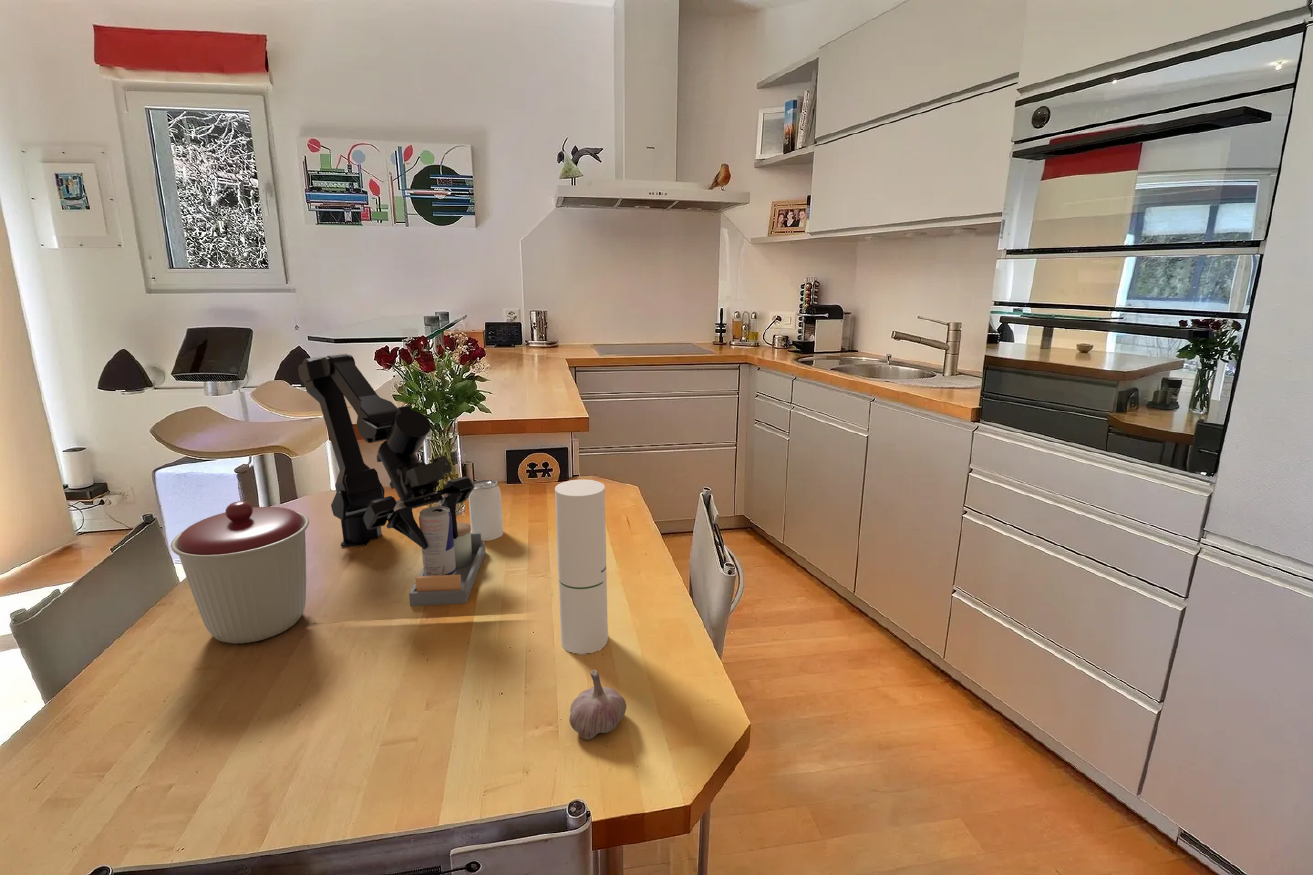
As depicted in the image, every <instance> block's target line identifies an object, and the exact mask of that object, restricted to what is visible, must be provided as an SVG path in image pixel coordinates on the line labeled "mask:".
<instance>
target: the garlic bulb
mask: <svg viewBox="0 0 1313 875" xmlns="http://www.w3.org/2000/svg"><path fill="white" fill-rule="evenodd" d="M590 676H591V679H592V684H593V686H591V687H590V688H589V689H585V690H583V691H581V692H580V693H579V695H578V696H577V697H576V698H575V699H573V701H572V703H571V704H570V708H569V709H570V710H569V713H570V714H569V719H568V720H569V724H570V726H571V728H572V729H573V731H575V732H577V734H578V735H579V737H580V738H581V739H583V740H586V741H587V740H592V739H594V738H595V737H596V736H597V735H598V734H607V733H609V732H612V731H613V730H614V729H616V728H617V726H618V724H619V722H620V721H621V720H622V719H623V718H624V716H625V715H626V711H627V702H626V700H625V698H624V697H623V696H622V695H621V694H620V693H619V692H618V691H617V690H616V689H614V688H612V687H608V686H602V684H601V679H600V674H599V672H598V671H597V669H592V670H591V672H590Z"/></svg>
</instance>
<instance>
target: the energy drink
mask: <svg viewBox="0 0 1313 875" xmlns="http://www.w3.org/2000/svg"><path fill="white" fill-rule="evenodd" d="M418 526H419V528H420V530H421V532H422V534H423V536H424V537H425V540H426V542H427V545H428V547H427V549H423V548H422V547H421V554H422V563H423V564H422V565H423V566H422V567H423V568H424V576H437V575H455V573H456V563H455V551H454V539H453V527H452V515H451V512H450V509H449V508H447V507H444V506H439V505H437V506H430V507H426V508H424V509H421V510H420V511H419V516H418Z"/></svg>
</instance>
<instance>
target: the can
mask: <svg viewBox="0 0 1313 875" xmlns="http://www.w3.org/2000/svg"><path fill="white" fill-rule="evenodd" d="M472 482H473V484H474V486H475V487H474V489H473V490H472V492H471V493H470V495H469V496H468V504H469V518H470V519H469V520H470V526H471V533H481V540H482V542H486V541H487V542H488V541H492V540H493V541H494V540H497V539H499V538H501V537H502V536H503V535H504V525H503V524H504V522H503V507H502V497H501V496H502V494H501V488H500V487H499V485H498V484H499V482H498V481H497V480H493V479H482V480H481V479H480V480H476V481H472Z"/></svg>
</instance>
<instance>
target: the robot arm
mask: <svg viewBox="0 0 1313 875" xmlns="http://www.w3.org/2000/svg"><path fill="white" fill-rule="evenodd" d="M297 371H298V376H299V380H300V381H301V382H302V383H303V384H304V388H305V390H306V392H307V394H308V395H310V396H311V397H312V398H313V399H314V400H315V401H316V402H318V403H319V406H320V409H321V412H322V417H323V420H324V423H325V426H326V429H327V432H328V433H327V434H328V436H329V439H330V443H331V445H332V450H333V454H334V456H335V459H336V464H337V466H338V470H339V472H338V475H337V478H336V480H335V481H336V482H335V484H334V488H335V491H336V493H335V495H334V497H333V500H332V502H331V504H330V508H331V511H332V514H333V516H334V517H335V518H337V519H339V520H340V523H341V525H340V526H341V530H342V537H343V540H342V542H340V547H361V546H362V547H363V546H368V544H369V543H370V541H374V540H378V539H379V538H380V537H381V536H382V533H383V532H382V527H385V526H386V528H387V529H394V530H395V531H397V532H398V533H401V534H402V535H404V536H406V537H407V538H408V539H410V541H413V543H415V544H416V545H418V546H419V547H420V548H421V549H422V548H423V549H427V547H428V545H427V542H426V540H425V537H424V536H423V534H422V532H421V530H420V526H419V524H418V523H417V521H416V519H415V517H414V512H413V509H417V508H420V507H424V506H427V505H431V504H435V503H437V504H438V506H444V507H447V508H449V509H450V512H451V515H452V527H453V538H454V539H457V537H458V530H457V522H458V521H457V505H459V504H463V503H465V502H466V501H467V499H469V495H470V493H471V492H472V490H473V489H474V487H475V486H474V484H473V482H474V481H473V480H472V479H471V478H470V477H468V476H460V477H457V478H453V479H450V480H448V481H447V483H446V484H445V486H444V487H443V489H439V490H435V488H438V486H439V481H441V480H445V479H446V476H445V475H447V474H450V473H452V464H451V462H450V461H449V459H448V457H447V456H446V455H440V456H437V457H435V458H433V459H432V462H430V463H425V462H424V461H420V459H419V457H418V456H417V454H416V453H417V452H419V450H420V449H421V447H422V446H423V443H424V442H425V440H426V438H427V437H428V435H429V433H430V430H431V427H432V426H431V422H430V419H429V418H428V417H426V416H425V415H424V414H423V413H421V412H419V411H416V410H413V409H412V408H411V406H410V405H404V406H399V407H397V406H396V405H395V404H394V403H393V402H392V401H391V400H388V399H385V398H382V397H380V396H379V395H378V394H377V392H376V390H375V389H374V388H373V387H372V385H371V384H370V383H369V381H368V380H367V379H366V377H365V376H364V375H363V373H362V372H361V370H360V369H359V368H358V366H357V365H356V361H355V358H354V356H353V355H352V354H348V353H339V354H330V355H327V356H320V357H310V358H305V359H303V361H302V363H301V364H299V365H298V369H297ZM346 401H347V402H348V404H350V406H351V408H352V409H353V410H354V411H355V413H356V415H357V417H356V418H357V419H356V427H357V431H358V434H359V436H360V437H361V438H362V439H363V440H364V441H365V442H366V443H368V444H370V443H371V444H373V443H378V442H381V441H382V443H381V444H380V446H379V447H378V451H377V454H376V462H378V463H382V465H383V467H384V469H385V471H386V473H387V475H388V478H389V479H390V483H389V484H388V485H389V486H390V488H391V490H393V489H395V491H396V494H397V496H398V498H399V500H396V499H395V497H394V496H391V495H389V496H385V493H386V492H385V488H384V486H383V484H382V482H380V478H379V473H378V471H377V470H376V469H375V468H373V467H372V468H371V467H370V466H368V465H367V464H366V463H365V462H364V458H363V454H362V452H361V448H360V444H359V441H358V438H357V435H356V432H355V429H354V425H353V422H352V417H351V414H350V412H349V408H348V405H347V402H346Z"/></svg>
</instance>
